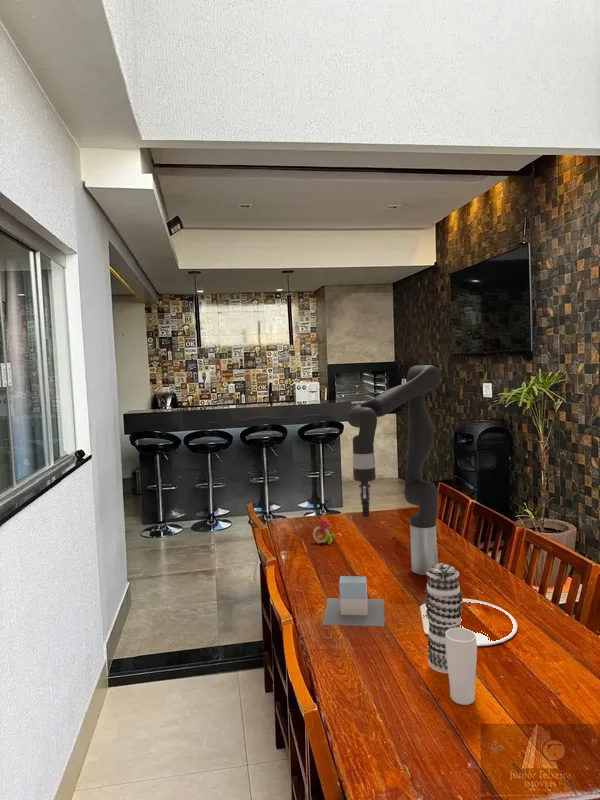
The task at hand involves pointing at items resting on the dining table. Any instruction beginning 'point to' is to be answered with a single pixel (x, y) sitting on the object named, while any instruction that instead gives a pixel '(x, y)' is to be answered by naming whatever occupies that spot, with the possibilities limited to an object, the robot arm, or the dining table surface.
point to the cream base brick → (354, 606)
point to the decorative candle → (441, 611)
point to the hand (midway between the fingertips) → (366, 516)
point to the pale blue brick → (353, 587)
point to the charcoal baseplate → (371, 619)
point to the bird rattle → (320, 534)
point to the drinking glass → (461, 664)
